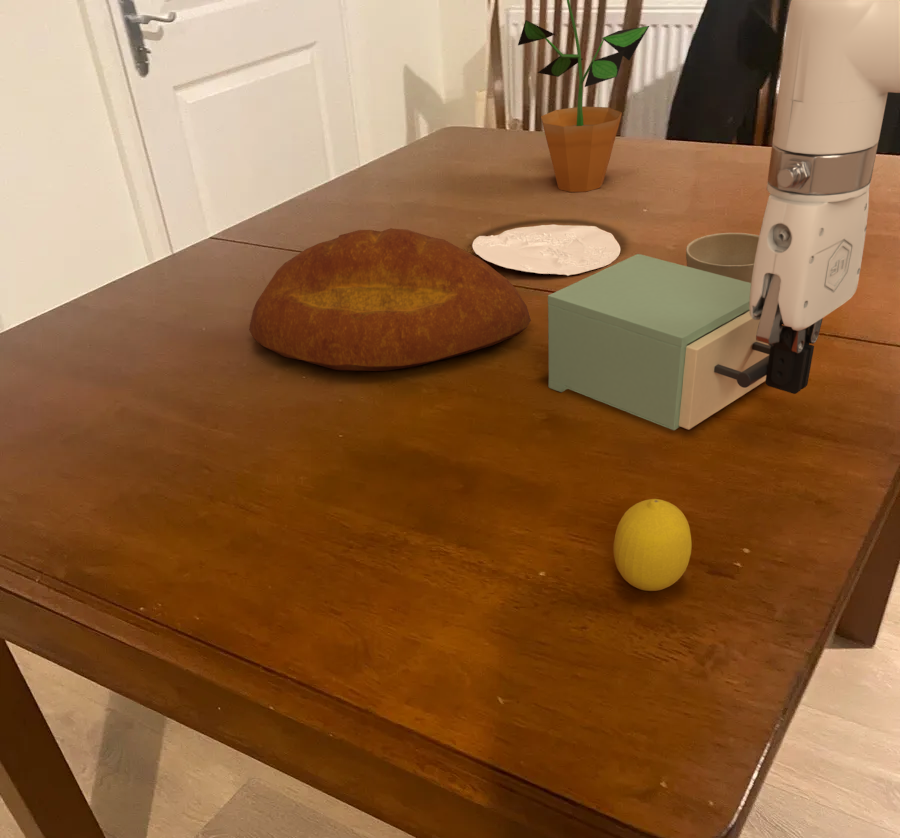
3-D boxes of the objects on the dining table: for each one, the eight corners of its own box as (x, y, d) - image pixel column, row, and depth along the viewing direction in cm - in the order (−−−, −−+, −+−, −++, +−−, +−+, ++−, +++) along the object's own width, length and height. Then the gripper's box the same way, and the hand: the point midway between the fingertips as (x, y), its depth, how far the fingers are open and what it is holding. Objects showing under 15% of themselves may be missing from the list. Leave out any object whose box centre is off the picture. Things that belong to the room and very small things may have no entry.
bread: (285, 305, 118) (265, 204, 110) (539, 304, 112) (538, 198, 104) (226, 381, 102) (198, 270, 94) (518, 385, 96) (515, 267, 88)
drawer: (801, 392, 88) (816, 313, 83) (724, 444, 82) (735, 362, 77) (647, 341, 99) (652, 269, 94) (569, 383, 93) (570, 308, 88)
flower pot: (665, 303, 109) (670, 242, 104) (740, 287, 111) (748, 227, 106) (707, 335, 102) (715, 270, 97) (787, 317, 103) (798, 254, 99)
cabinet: (757, 383, 92) (772, 288, 86) (673, 437, 86) (682, 338, 79) (633, 342, 102) (638, 253, 95) (548, 387, 95) (547, 295, 89)
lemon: (630, 620, 67) (635, 530, 61) (600, 575, 71) (603, 488, 66) (699, 602, 67) (711, 513, 62) (666, 560, 72) (674, 472, 67)
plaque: (452, 272, 121) (452, 261, 120) (496, 224, 135) (496, 214, 134) (603, 288, 116) (604, 276, 115) (631, 237, 130) (632, 226, 129)
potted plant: (509, 178, 153) (502, -40, 134) (617, 163, 154) (625, -54, 135) (536, 209, 139) (532, -28, 120) (654, 193, 141) (669, -44, 122)
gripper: (814, 203, 64) (778, 433, 76) (914, 149, 72) (867, 367, 83) (722, 187, 69) (701, 406, 80) (825, 138, 76) (792, 346, 88)
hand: (785, 386), depth 82 cm, fingers closed
